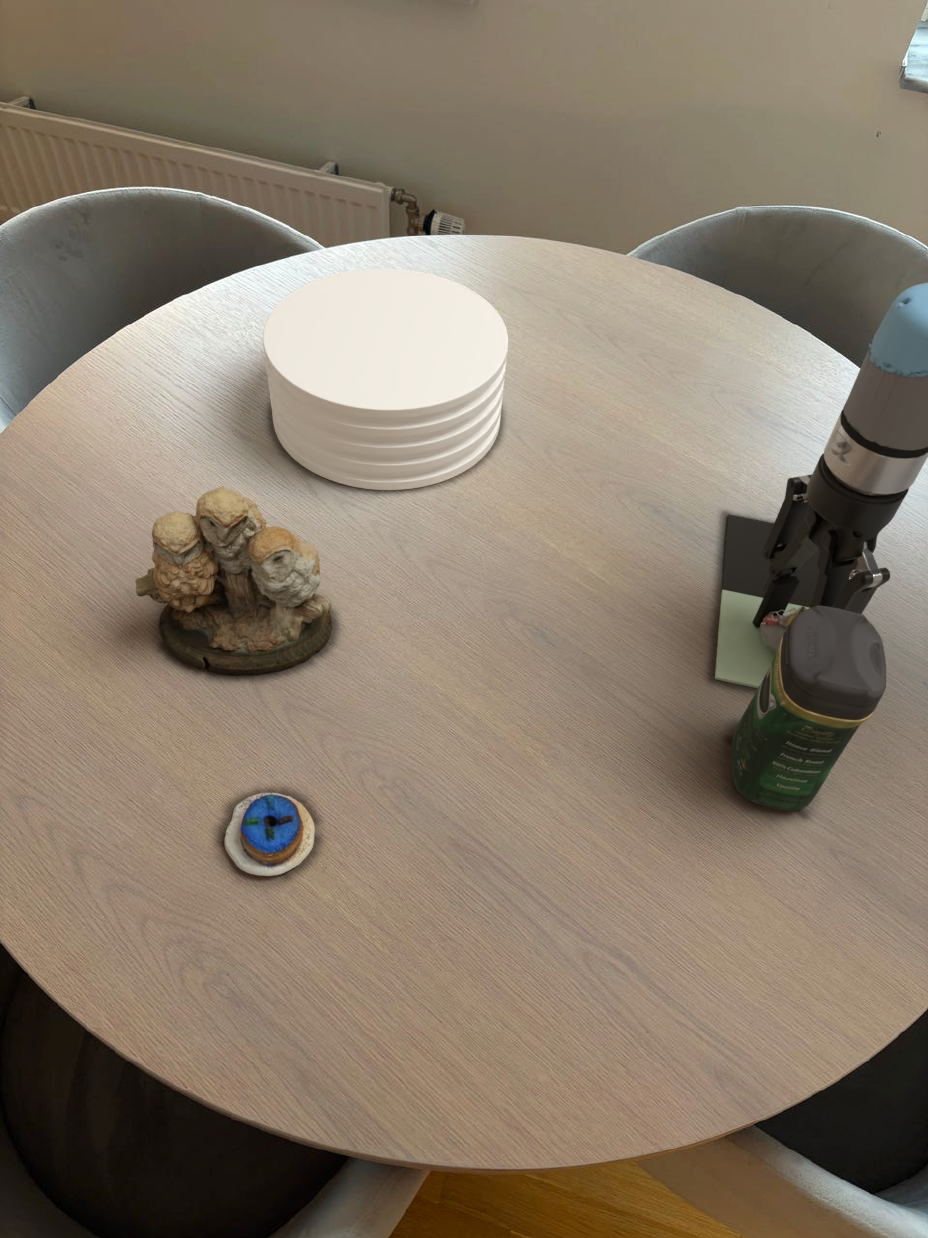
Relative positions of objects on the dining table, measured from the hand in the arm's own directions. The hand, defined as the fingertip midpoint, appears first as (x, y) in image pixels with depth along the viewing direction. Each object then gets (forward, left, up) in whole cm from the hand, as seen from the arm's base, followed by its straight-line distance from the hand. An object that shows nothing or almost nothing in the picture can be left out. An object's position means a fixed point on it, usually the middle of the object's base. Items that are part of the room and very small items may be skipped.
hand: (778, 642), depth 97 cm
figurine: (0, 0, -1) cm, 1 cm away
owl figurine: (+15, +52, -1) cm, 54 cm away
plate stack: (+45, +30, -1) cm, 54 cm away
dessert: (-8, +53, -1) cm, 54 cm away
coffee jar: (-13, +7, -1) cm, 15 cm away
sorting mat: (+5, -3, -1) cm, 6 cm away
